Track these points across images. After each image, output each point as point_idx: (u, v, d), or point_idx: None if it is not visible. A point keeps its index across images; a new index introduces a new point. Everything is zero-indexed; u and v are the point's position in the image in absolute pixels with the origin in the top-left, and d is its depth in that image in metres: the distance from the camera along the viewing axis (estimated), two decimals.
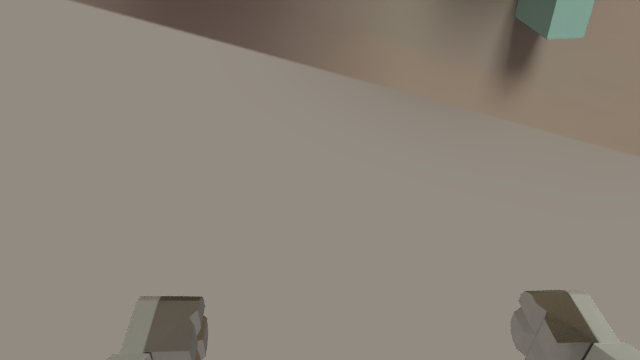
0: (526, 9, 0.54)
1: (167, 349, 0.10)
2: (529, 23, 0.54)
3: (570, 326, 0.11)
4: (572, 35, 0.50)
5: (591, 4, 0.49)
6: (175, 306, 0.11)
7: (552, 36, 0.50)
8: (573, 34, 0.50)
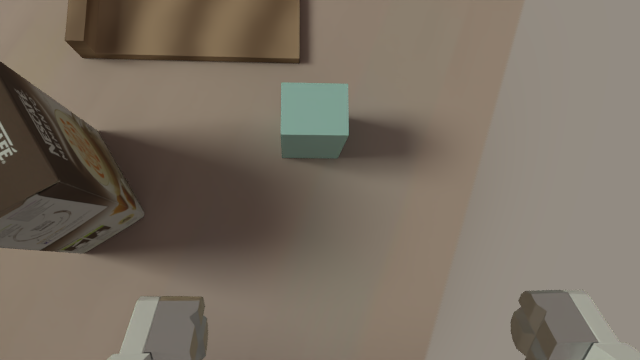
0: (323, 152, 0.41)
1: (167, 349, 0.10)
2: (338, 148, 0.40)
3: (570, 326, 0.11)
4: (344, 100, 0.36)
5: (302, 85, 0.36)
6: (175, 306, 0.11)
7: (344, 127, 0.36)
8: (343, 99, 0.36)
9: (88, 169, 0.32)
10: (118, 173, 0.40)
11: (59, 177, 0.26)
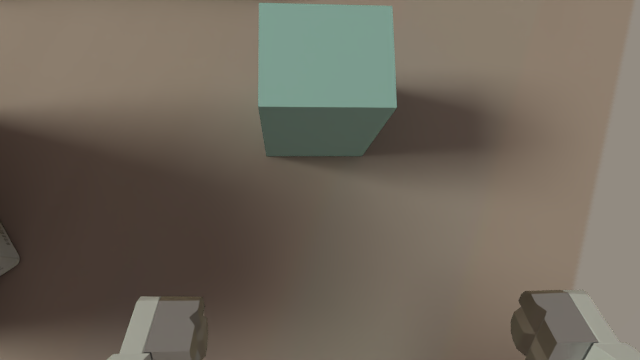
0: (339, 145, 0.23)
1: (167, 349, 0.10)
2: (367, 137, 0.22)
3: (570, 326, 0.11)
4: (386, 37, 0.18)
5: (302, 9, 0.18)
6: (175, 306, 0.11)
7: (387, 92, 0.18)
8: (383, 35, 0.18)
9: None
10: None
11: None
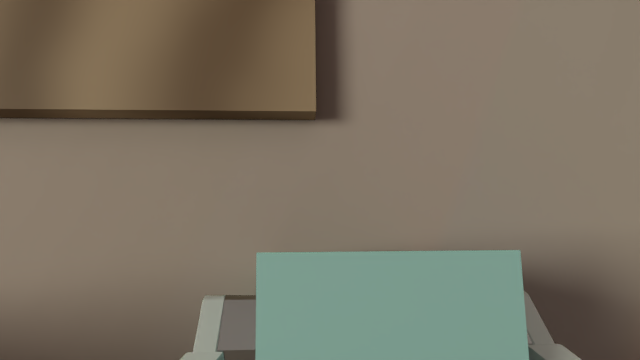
0: None
1: (240, 347, 0.10)
2: None
3: None
4: (511, 319, 0.09)
5: (343, 264, 0.09)
6: (241, 305, 0.11)
7: None
8: (505, 315, 0.09)
9: None
10: None
11: None
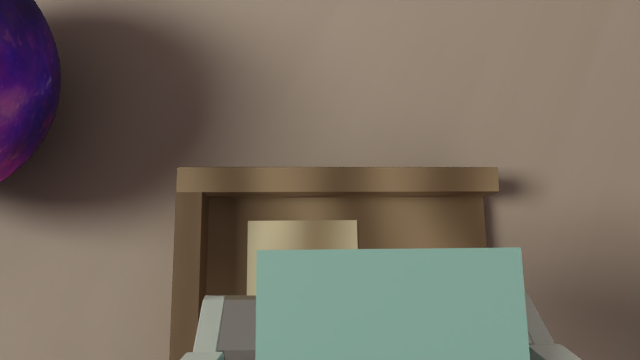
0: None
1: (240, 347, 0.10)
2: None
3: None
4: (512, 317, 0.09)
5: (343, 261, 0.09)
6: (241, 305, 0.11)
7: None
8: (506, 313, 0.09)
9: None
10: None
11: None
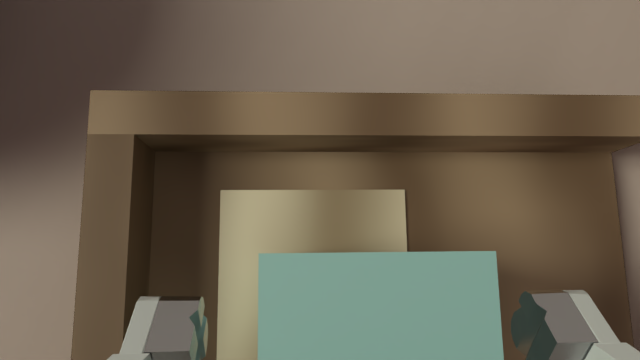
0: None
1: (167, 349, 0.10)
2: None
3: (570, 326, 0.11)
4: (487, 313, 0.10)
5: (336, 263, 0.10)
6: (175, 306, 0.11)
7: None
8: (482, 309, 0.10)
9: None
10: None
11: None
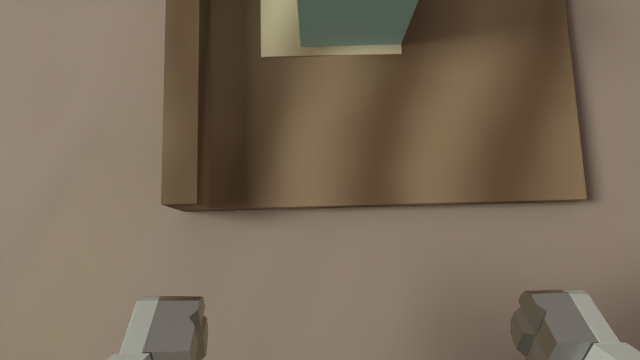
0: (377, 22, 0.22)
1: (167, 349, 0.10)
2: (408, 6, 0.20)
3: (570, 325, 0.11)
4: None
5: None
6: (175, 306, 0.11)
7: None
8: None
9: None
10: None
11: None
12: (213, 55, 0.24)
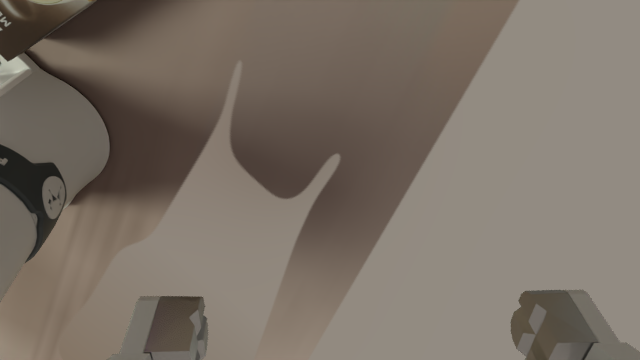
0: None
1: (167, 349, 0.10)
2: None
3: (570, 326, 0.11)
4: None
5: None
6: (175, 306, 0.11)
7: None
8: None
9: (39, 0, 0.37)
10: None
11: (6, 59, 0.39)
12: None
